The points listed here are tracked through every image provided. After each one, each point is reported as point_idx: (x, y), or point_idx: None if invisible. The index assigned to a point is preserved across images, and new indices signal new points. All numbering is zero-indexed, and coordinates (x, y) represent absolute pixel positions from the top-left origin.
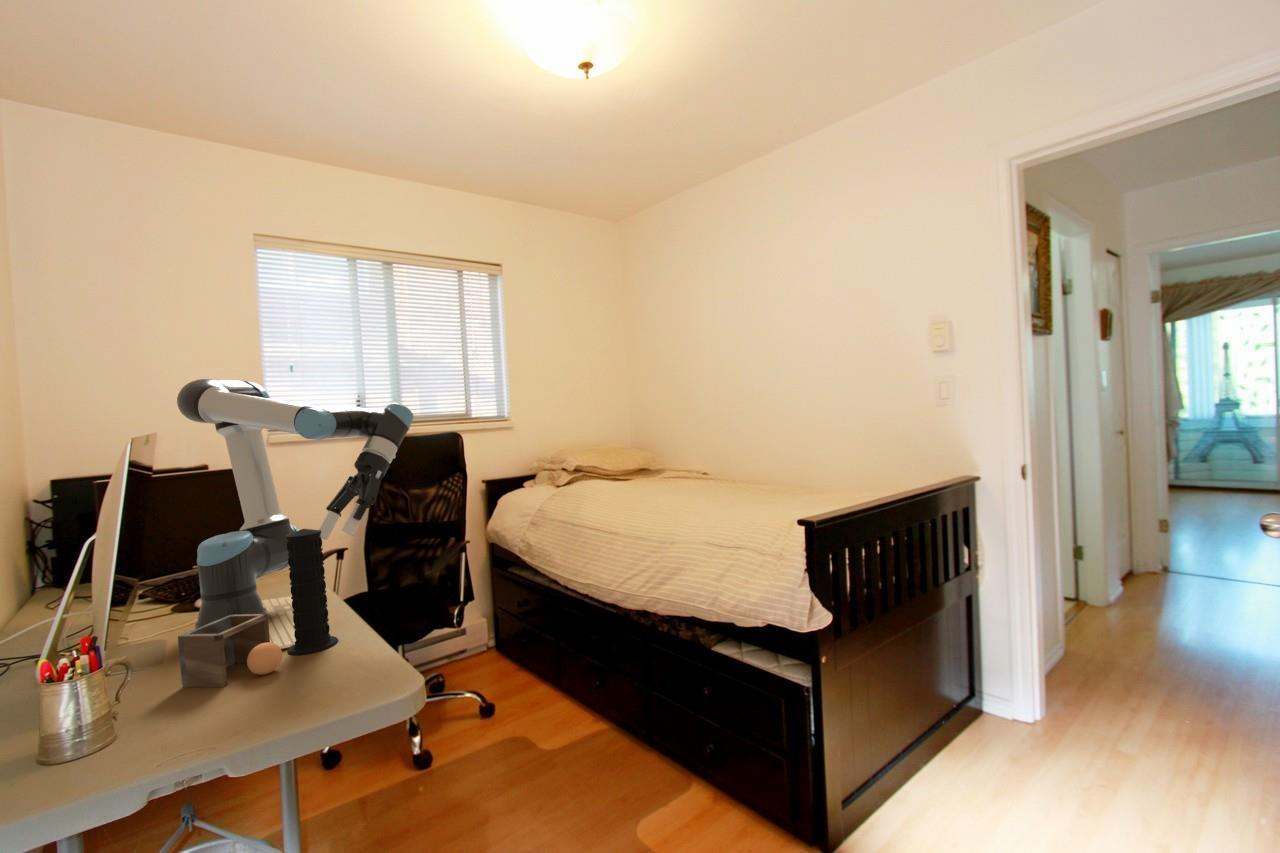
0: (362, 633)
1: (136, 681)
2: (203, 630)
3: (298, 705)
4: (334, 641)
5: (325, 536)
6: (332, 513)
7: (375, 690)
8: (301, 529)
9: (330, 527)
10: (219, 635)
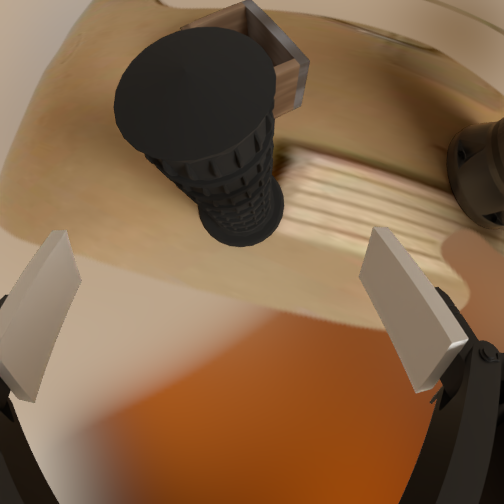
0: (218, 288)
1: (341, 30)
2: (260, 24)
3: (58, 124)
4: (211, 230)
5: (365, 272)
6: (434, 350)
7: (17, 192)
8: (186, 64)
9: (386, 309)
10: (181, 29)
